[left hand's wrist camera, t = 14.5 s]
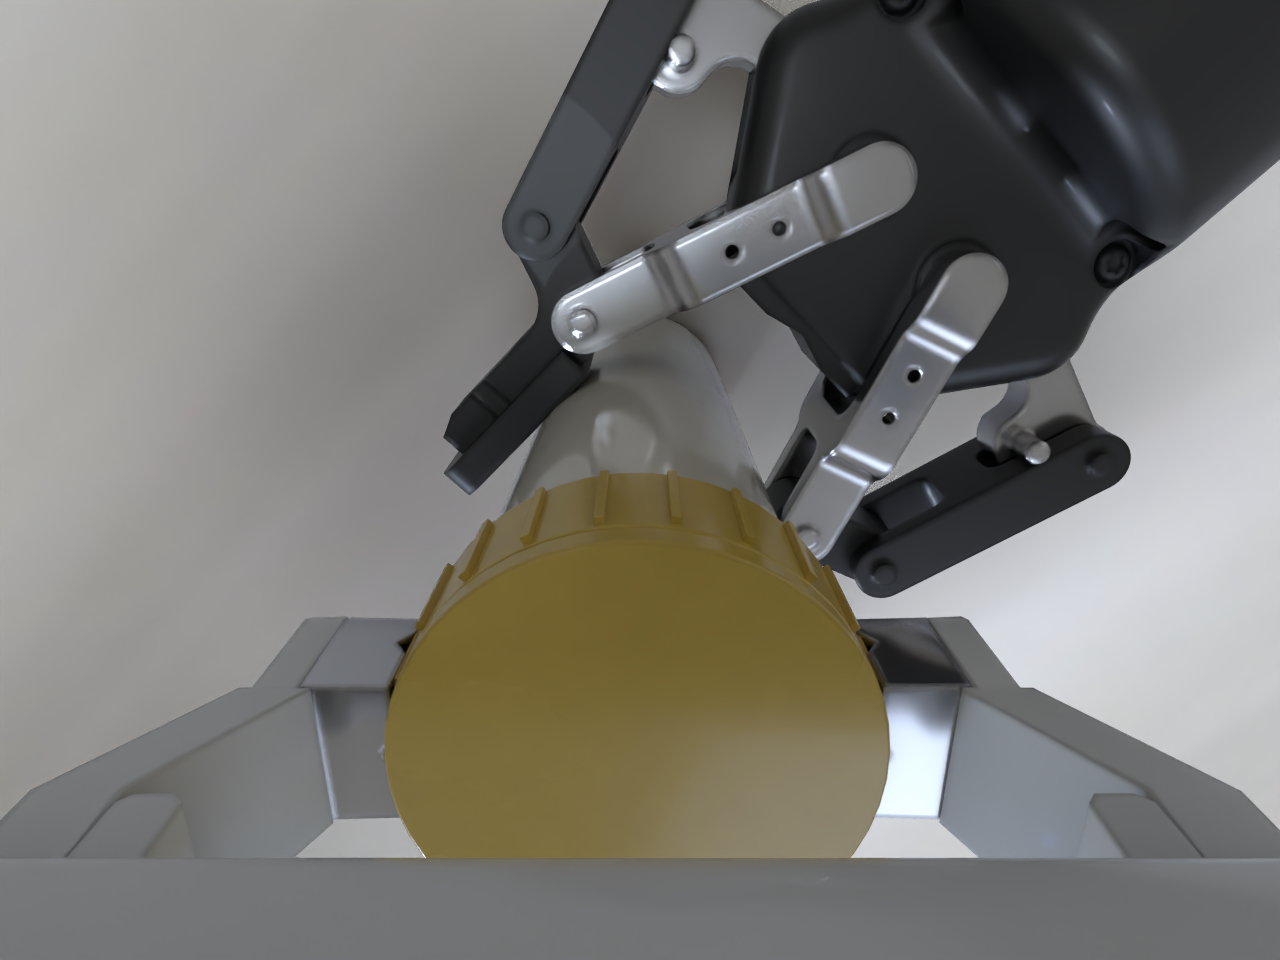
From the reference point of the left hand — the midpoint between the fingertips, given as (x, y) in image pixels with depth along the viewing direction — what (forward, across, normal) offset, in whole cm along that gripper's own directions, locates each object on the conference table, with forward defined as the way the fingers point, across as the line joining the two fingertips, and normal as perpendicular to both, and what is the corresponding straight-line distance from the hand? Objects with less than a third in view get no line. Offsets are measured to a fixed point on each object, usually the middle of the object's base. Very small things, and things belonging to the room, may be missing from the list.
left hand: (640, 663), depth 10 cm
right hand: (+7, -2, -2) cm, 8 cm away
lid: (-2, 0, 0) cm, 2 cm away
